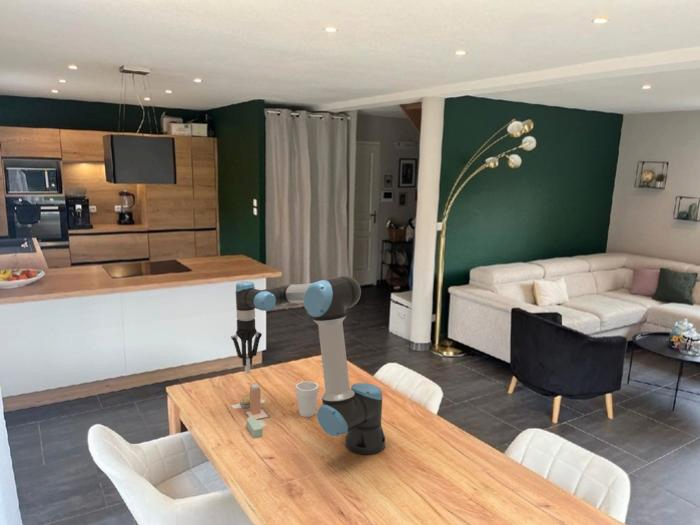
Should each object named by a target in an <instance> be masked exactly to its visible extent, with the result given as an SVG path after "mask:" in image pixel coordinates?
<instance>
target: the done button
mask: <svg viewBox="0 0 700 525" xmlns="http://www.w3.org/2000/svg"><path fill="white" fill-rule="evenodd" d="M242 402H243V403H244V404H250V395H245V396H243V397H242Z"/></svg>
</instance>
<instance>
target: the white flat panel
mask: <svg viewBox="0 0 700 525" xmlns="http://www.w3.org/2000/svg"><path fill="white" fill-rule="evenodd" d="M260 400H261V404H264V403H266V401H265V400H264V399H263V398H260ZM230 406H231V407H230V408H231V409H232V410H236V409H241V408H242V409H243V410H244V411H243V413H244V414H245V416H246V417H247V418H249V417H252V418H254V417H255V418H256V420H257V421H258V422H259V424H260V425H261V427H262V428H264V427H267V425H266V424H265V423H264V421H263V420H265V419H268V418H271V416H270V414H269V413H268V412H267V411H266V410H265V408H263V407H261V413H259V414H255V415H252V413H251V412H250V404H244V403H243V401H239V403H237V404H232V405H230ZM246 409H247V410H246ZM248 409H249V410H248Z"/></svg>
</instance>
